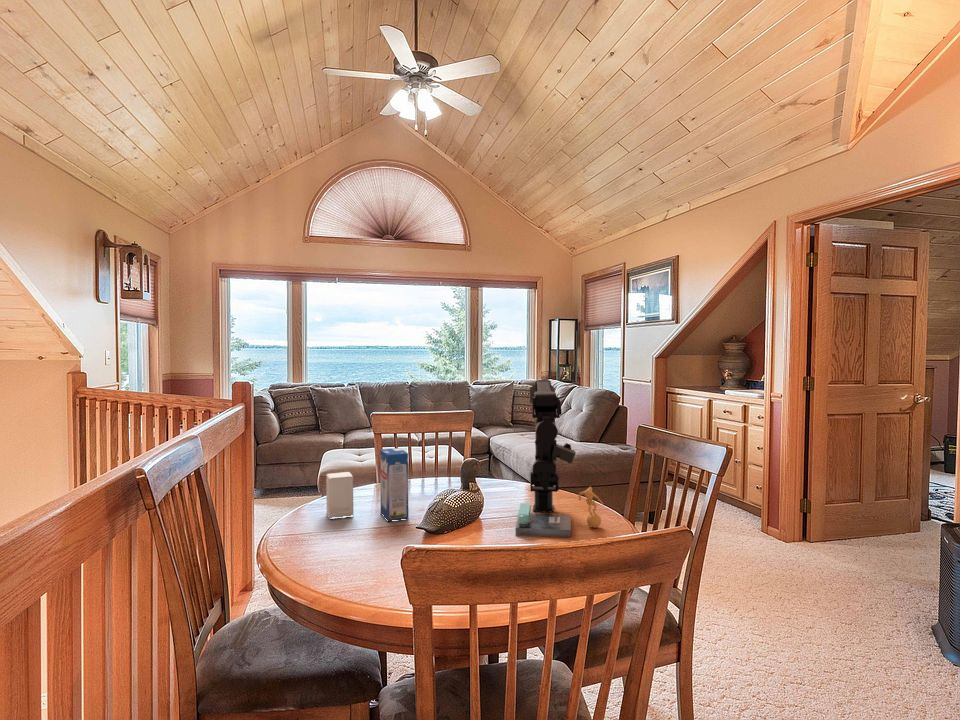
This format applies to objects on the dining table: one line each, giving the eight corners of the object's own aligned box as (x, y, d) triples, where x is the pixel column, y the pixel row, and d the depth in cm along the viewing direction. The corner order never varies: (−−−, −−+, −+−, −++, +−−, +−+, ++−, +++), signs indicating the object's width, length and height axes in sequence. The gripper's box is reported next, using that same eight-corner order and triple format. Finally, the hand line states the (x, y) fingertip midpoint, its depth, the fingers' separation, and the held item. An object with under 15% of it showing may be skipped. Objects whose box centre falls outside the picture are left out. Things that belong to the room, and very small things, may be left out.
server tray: (519, 519, 162) (519, 510, 162) (569, 521, 160) (569, 512, 160) (515, 535, 148) (515, 525, 148) (571, 537, 146) (571, 527, 146)
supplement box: (354, 517, 165) (353, 476, 164) (328, 520, 162) (328, 478, 162) (350, 510, 171) (350, 471, 171) (326, 513, 169) (325, 473, 168)
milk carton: (380, 513, 169) (380, 449, 168) (400, 510, 171) (399, 447, 171) (388, 522, 159) (387, 454, 159) (408, 519, 162) (408, 453, 161)
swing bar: (520, 509, 161) (520, 503, 161) (530, 510, 161) (530, 503, 161) (517, 524, 148) (517, 516, 148) (528, 524, 147) (528, 517, 147)
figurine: (610, 529, 152) (610, 486, 152) (598, 534, 148) (598, 490, 148) (586, 522, 158) (585, 481, 158) (573, 527, 154) (573, 485, 154)
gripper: (574, 442, 145) (575, 500, 145) (572, 431, 163) (573, 483, 164) (533, 441, 146) (533, 499, 147) (535, 431, 165) (536, 482, 165)
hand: (545, 490), depth 156 cm, fingers closed
